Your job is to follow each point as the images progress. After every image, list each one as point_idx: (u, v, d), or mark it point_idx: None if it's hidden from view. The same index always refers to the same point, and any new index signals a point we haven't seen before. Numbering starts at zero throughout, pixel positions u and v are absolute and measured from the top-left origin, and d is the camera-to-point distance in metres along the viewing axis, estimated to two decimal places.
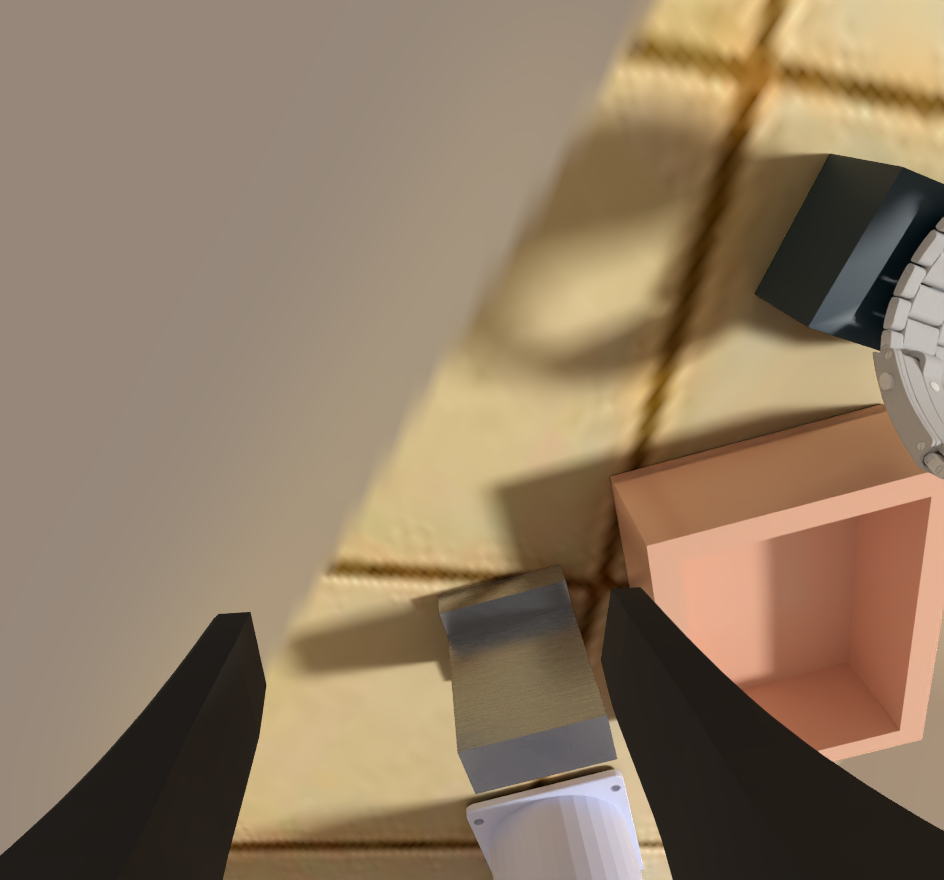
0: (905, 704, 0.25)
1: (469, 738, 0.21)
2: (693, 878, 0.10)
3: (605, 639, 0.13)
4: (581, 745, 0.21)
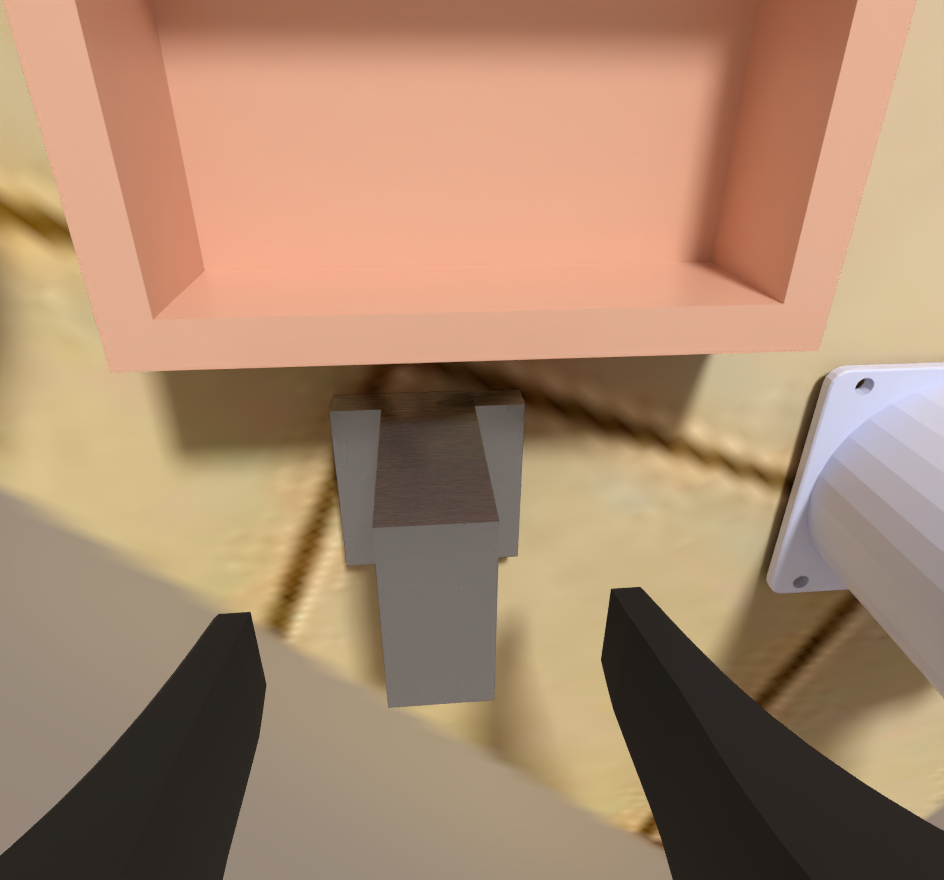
0: None
1: None
2: (693, 878, 0.10)
3: (605, 639, 0.13)
4: (437, 568, 0.13)
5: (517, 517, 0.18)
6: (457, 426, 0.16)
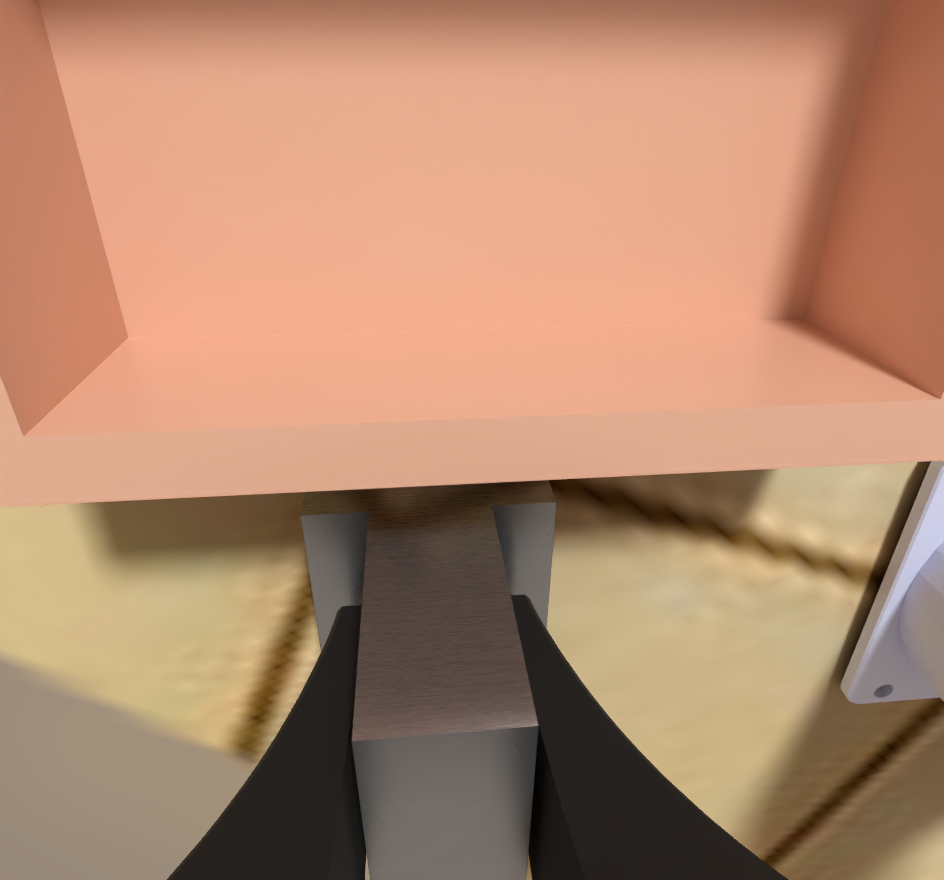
0: None
1: None
2: None
3: None
4: (447, 783, 0.09)
5: None
6: (470, 540, 0.12)
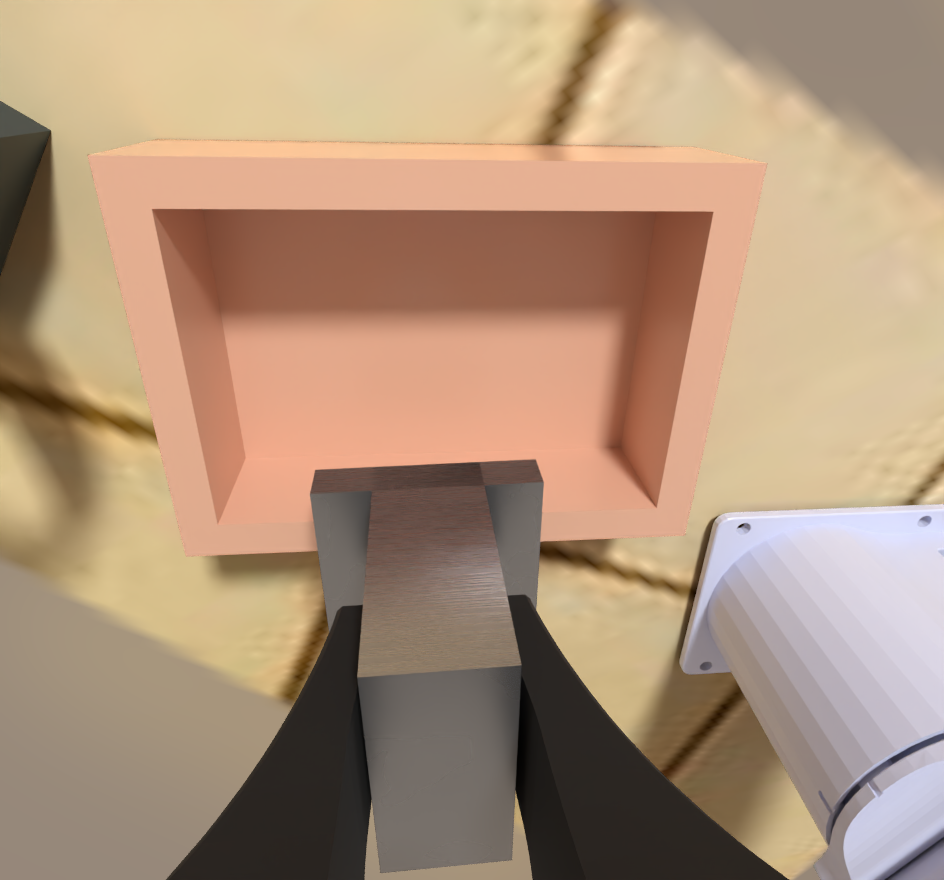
0: (642, 207, 0.14)
1: None
2: None
3: None
4: (442, 719, 0.10)
5: None
6: (464, 514, 0.13)
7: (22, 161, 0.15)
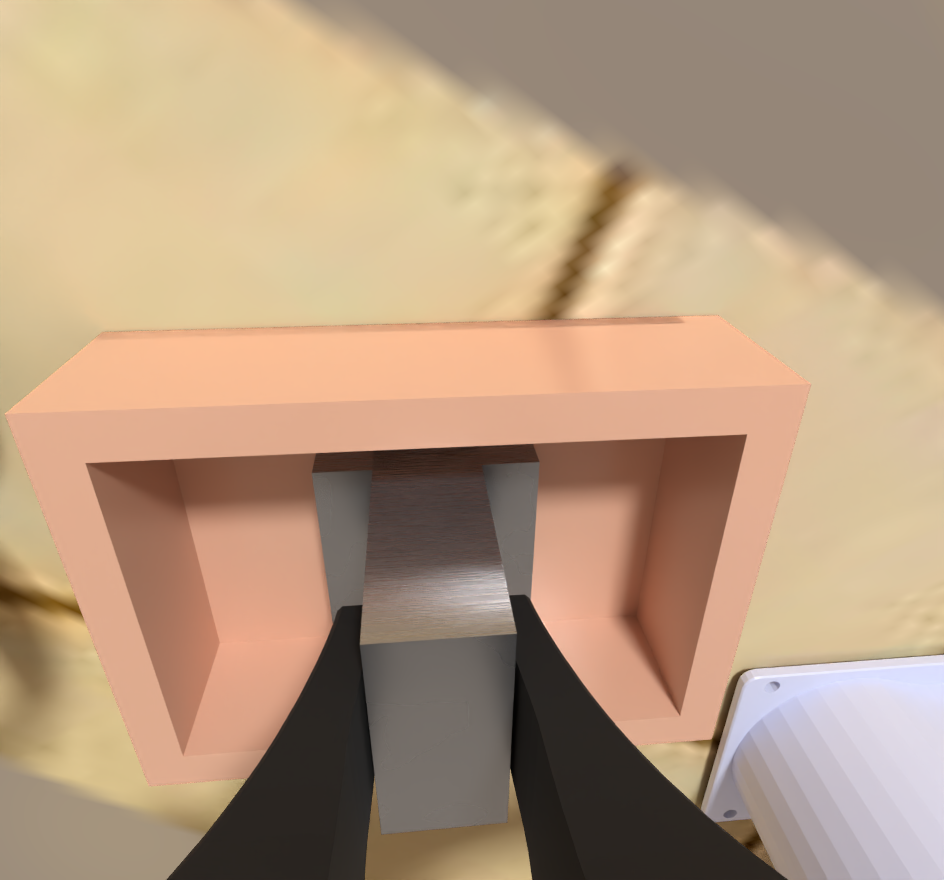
0: (664, 434, 0.12)
1: None
2: None
3: None
4: (440, 685, 0.10)
5: (529, 584, 0.16)
6: (461, 492, 0.13)
7: None
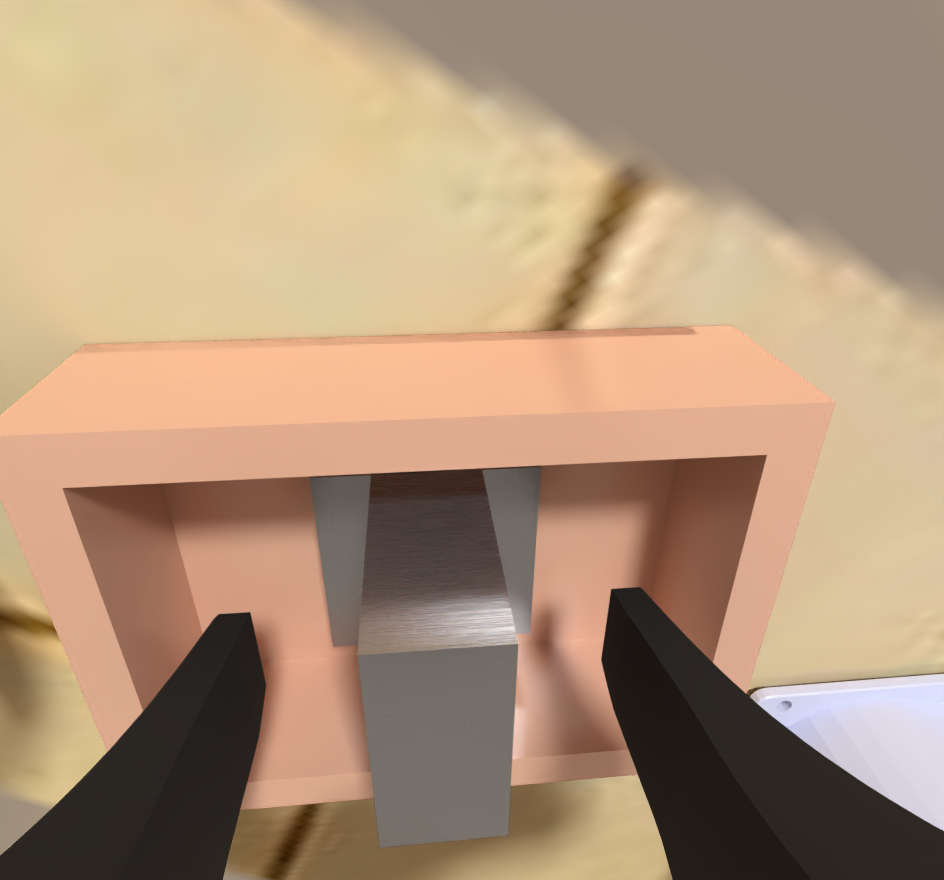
0: (680, 455, 0.11)
1: None
2: (693, 878, 0.10)
3: (605, 639, 0.13)
4: (440, 697, 0.10)
5: (530, 591, 0.16)
6: (462, 498, 0.13)
7: None
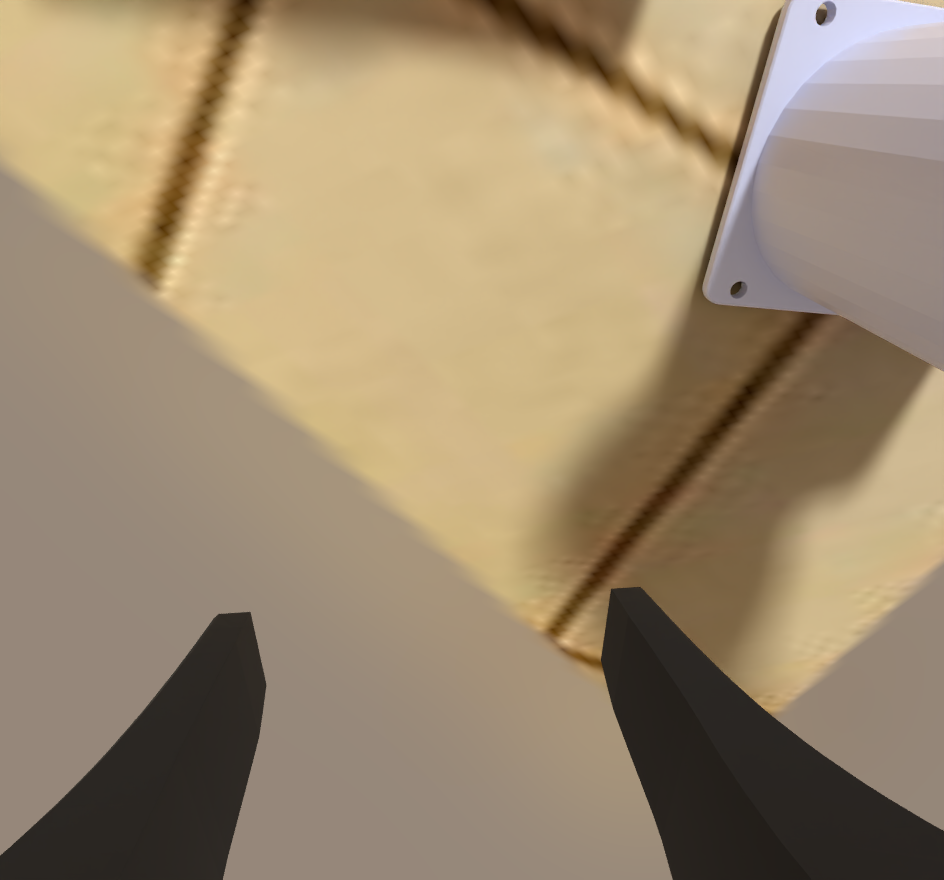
0: None
1: None
2: (693, 878, 0.10)
3: (605, 639, 0.13)
4: None
5: None
6: None
7: None
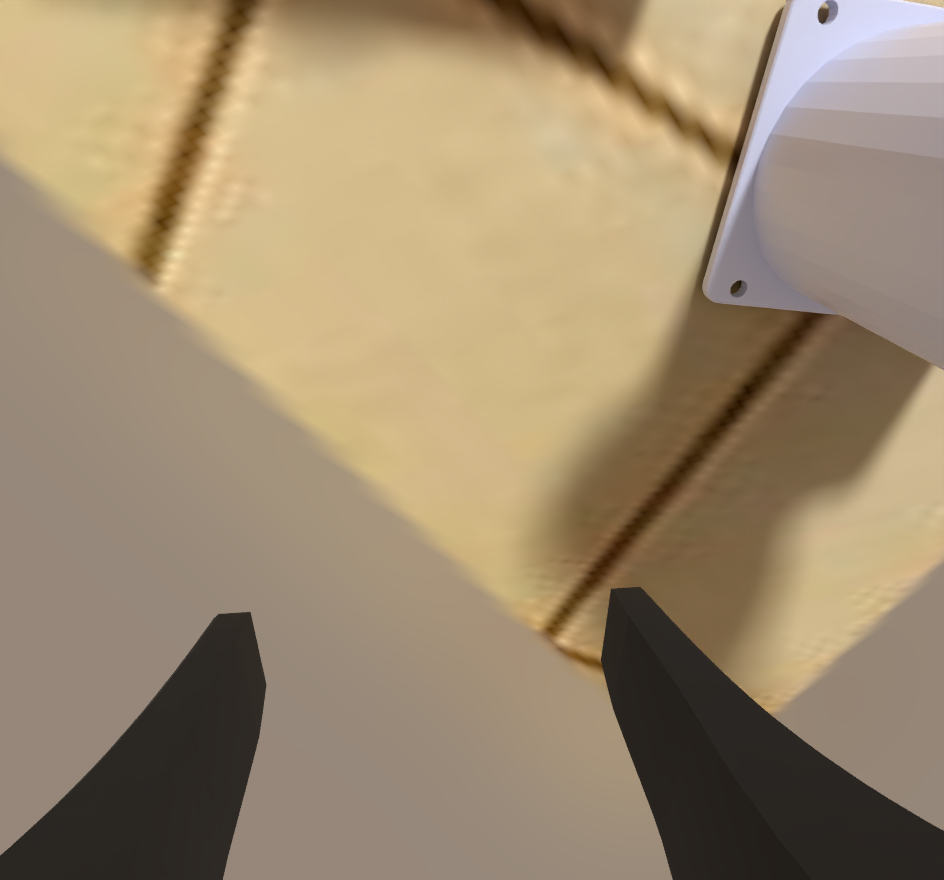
0: None
1: None
2: (693, 878, 0.10)
3: (605, 639, 0.13)
4: None
5: None
6: None
7: None
